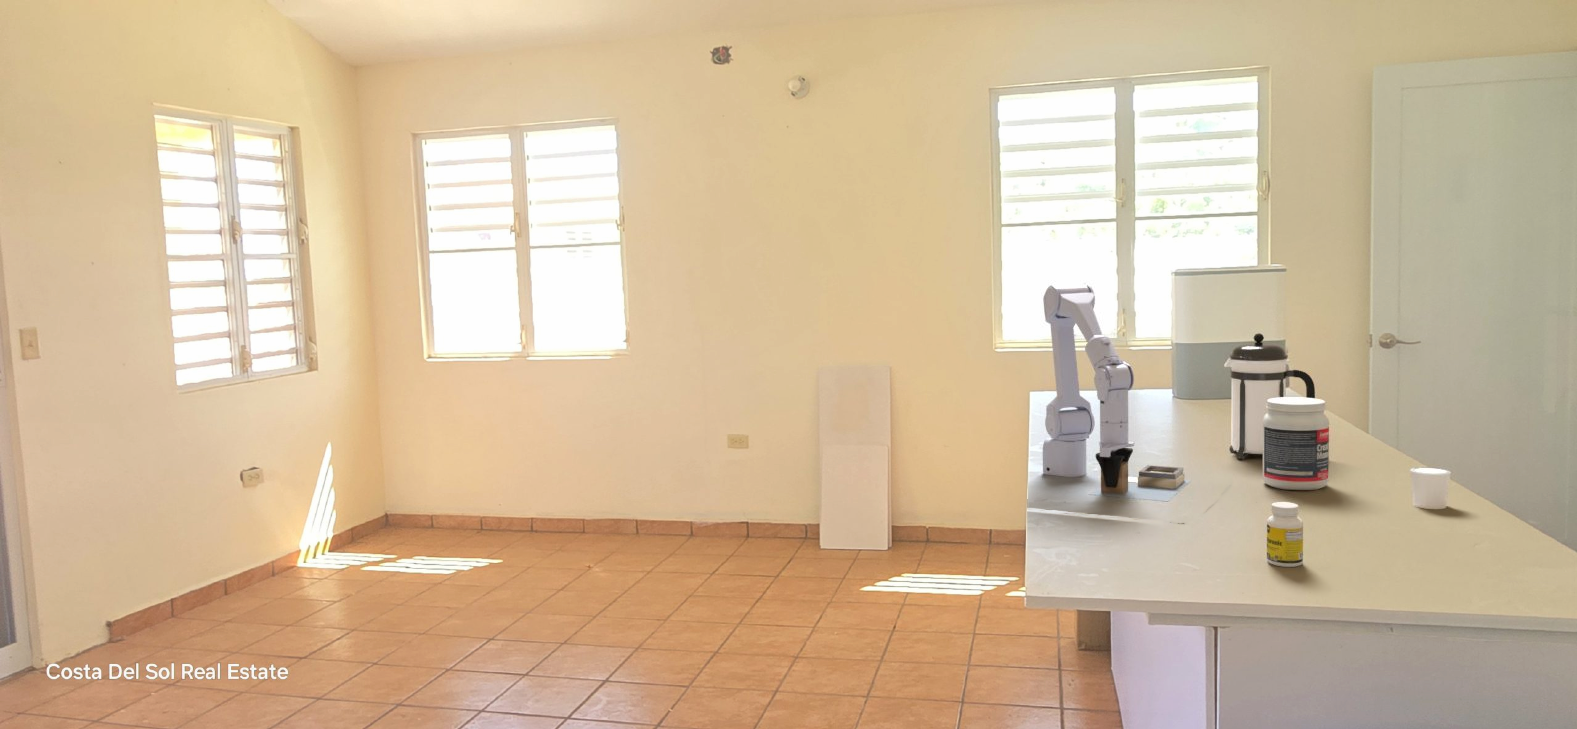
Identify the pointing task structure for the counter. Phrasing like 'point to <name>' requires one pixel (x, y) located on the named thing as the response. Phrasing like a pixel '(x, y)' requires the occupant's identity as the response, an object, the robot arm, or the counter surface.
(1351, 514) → the counter surface
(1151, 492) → the board
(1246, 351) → the coffee press
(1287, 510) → the supplement bottle
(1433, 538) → the counter surface
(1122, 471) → the walnut block
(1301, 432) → the supplement tub
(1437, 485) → the white cup
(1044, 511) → the counter surface
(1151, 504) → the counter surface
